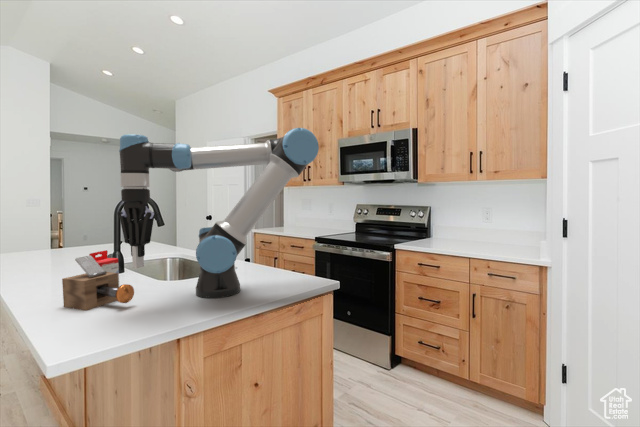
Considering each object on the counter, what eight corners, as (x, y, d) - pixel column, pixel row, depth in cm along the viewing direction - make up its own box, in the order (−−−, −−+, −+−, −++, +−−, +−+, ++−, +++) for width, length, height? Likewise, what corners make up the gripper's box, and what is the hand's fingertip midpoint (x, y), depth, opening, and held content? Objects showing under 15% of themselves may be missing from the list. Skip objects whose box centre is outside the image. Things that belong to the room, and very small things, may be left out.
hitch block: (119, 299, 120) (117, 273, 119) (86, 310, 109) (84, 281, 109) (97, 296, 124) (96, 270, 123) (63, 307, 113) (62, 278, 112)
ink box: (102, 296, 125) (99, 254, 124) (89, 295, 126) (87, 253, 125) (120, 289, 133) (118, 250, 132) (108, 289, 134) (106, 249, 133)
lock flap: (105, 274, 117) (107, 272, 117) (89, 278, 112) (90, 276, 112) (90, 257, 119) (92, 254, 119) (73, 260, 114) (75, 257, 114)
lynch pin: (134, 300, 114) (133, 282, 113) (118, 305, 108) (117, 287, 108) (108, 296, 118) (108, 279, 117) (92, 301, 112) (91, 284, 112)
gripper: (162, 188, 108) (164, 266, 109) (130, 188, 112) (132, 263, 114) (141, 187, 101) (144, 271, 102) (108, 188, 105) (111, 268, 107)
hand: (138, 267), depth 108 cm, fingers closed
